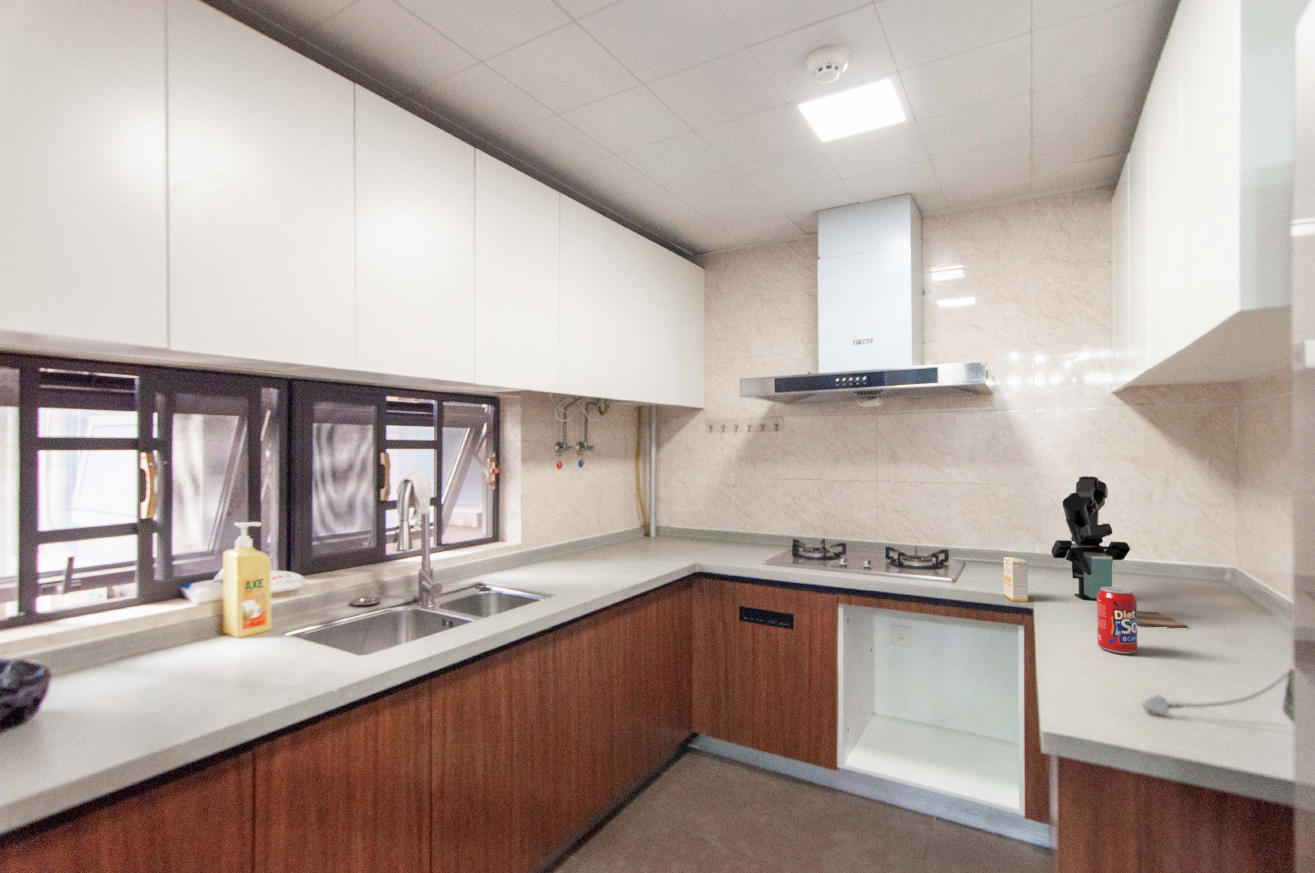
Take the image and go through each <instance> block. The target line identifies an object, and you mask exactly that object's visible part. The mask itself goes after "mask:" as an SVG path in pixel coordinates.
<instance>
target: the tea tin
mask: <svg viewBox="0 0 1315 873" xmlns="http://www.w3.org/2000/svg"><path fill="white" fill-rule="evenodd" d="M1083 555H1084V558H1085V560H1086V562H1087V564H1088V566H1089V569H1090V572H1091V573H1090V575H1088V574H1086V573H1085V572H1084V594H1085V595H1087V596H1089V597H1091V598H1097V593H1098V592H1099V591H1100V590H1101V589H1100V588H1101V587H1113V561H1112V556H1109V555H1106V554H1103V553H1083Z"/></svg>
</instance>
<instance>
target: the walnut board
mask: <svg viewBox="0 0 1315 873" xmlns="http://www.w3.org/2000/svg"><path fill="white" fill-rule="evenodd" d="M1137 626H1140V627H1141V628H1155V627H1167V628H1166V629H1175V628H1188V625H1187V624H1185V623H1182V622H1180V621H1178V620H1176V619H1173V618H1171V617H1169V616H1166V615H1165V614H1162V613H1160V612H1158V611H1145V610H1143V611H1138V610H1137ZM1140 627H1139V628H1140Z"/></svg>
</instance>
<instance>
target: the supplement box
mask: <svg viewBox="0 0 1315 873" xmlns="http://www.w3.org/2000/svg"><path fill="white" fill-rule="evenodd" d="M1028 589H1029V587H1028V561H1026V560H1024V559H1022V558H1020V557H1014V556H1013V557H1009V556H1008V557H1007V556H1004V557H1003V596H1004V595H1005V596H1004V597H1006V598H1007V599H1009V600H1010V601H1012V602H1017V603H1018V602H1019V603H1020V602H1021V603H1024V602H1025V603H1028V602H1029V601H1028V599H1029V597H1028V594H1029V593H1028Z"/></svg>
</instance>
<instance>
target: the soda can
mask: <svg viewBox="0 0 1315 873" xmlns="http://www.w3.org/2000/svg"><path fill="white" fill-rule="evenodd" d="M1100 589H1101V590H1100V591H1099V592H1098V593H1097V600H1096V612H1097V614H1096V618H1097V620H1096V621H1097V622H1096V623H1097V624H1096V628H1097V629H1096V632H1097V645H1098V647H1100V648H1101V649H1102V650H1104V651H1106V652H1109V653H1112V652H1113V653H1112V654H1117V653H1118V655H1130V654H1134V653H1136V652H1137V651H1138V627H1137V611H1138V603H1137V602H1138V600H1137V597H1136V596H1135V595H1134V591H1133V590H1132V589H1128V588H1125V587H1124V588H1123V587H1118V586H1112V587H1101V588H1100Z"/></svg>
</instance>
